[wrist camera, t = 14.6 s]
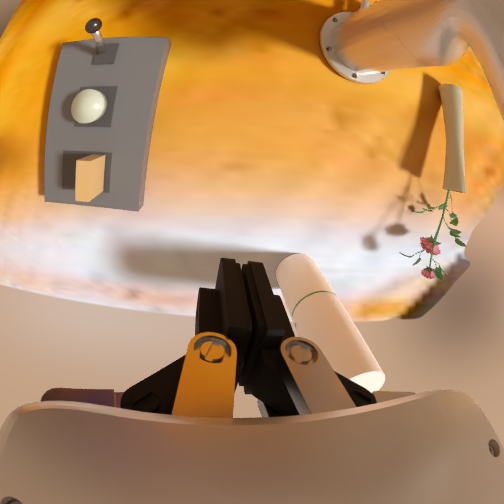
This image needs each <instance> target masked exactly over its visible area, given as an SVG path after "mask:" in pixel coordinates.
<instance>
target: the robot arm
mask: <svg viewBox="0 0 504 504" xmlns="http://www.w3.org/2000/svg"><path fill="white" fill-rule="evenodd" d="M320 46H321V50H322V52H323V55H324V57H325V58H326V60H327V62H328V63H329V64H330V65H331V67H332V68H333V69H334V70H335V71H336V72H337V73H338V74H340V75H341V76H343V77H344V78H346V79H348V80H350V81H352V82H356V83H360V84H371V83H376V82H379V81H381V80H383V79H384V78H385V77H386V76H387V75H388V73H389V72H390V71H392V70H399V69H408V68H418V67H430V66H445V65H450V64H453V63H455V62H457V61H458V60H459V59H461V57H462V56H463V55H464V54H465V52H466V51H467V49H468V47H469V46H470V47H471V48H472V50H473V52H474V54H475V56H476V57H477V59H478V61H479V62H480V64H481V66H482V68H483V70H484V73H485V75H486V77H487V80H488V82H489V84H490V87H491V89H492V92H493V94H494V97H495V100H496V103H497V105H498V108H499V111H500V113H501V116H502V118H503V120H504V0H380V1H375V2H374V4H373V5H371V6H370V2H368V1H367V0H361V4H360V9H358V10H357V11H355V12H340V13H337V14H335V15H333V16H331V17H330V18H328V19H327V20H326V21H325V22H324V24H323V26H322V28H321V31H320ZM326 48H327V49H328V51H327V49H326ZM352 76H353V77H352ZM195 326H196V327H195V336H194V337H193V338H192V339H191V341H190V343H189V345H188V349H187V353H186V355H184V356H183V357H181V358H179V359H178V360H176V361H174V362H173V363H171V364H170V365H168V366H166V367H165V368H163V369H161V370H160V371H158V372H156V373H154V374H153V375H151V376H149V377H147V378H146V379H144V380H142V381H140V382H139V383H137V384H135V385H134V386H132V387H130V388H129V389H127V390H126V391H125V392H119V393H118V392H114V390H113V389H110V390H109V389H106V390H105V389H103V390H101V389H100V390H99V389H71V388H52V389H50V390H48V391H46V393H45V394H44V395H43V396H42V398H41V402H34V403H29V404H25V405H22V406H20V407H18V408H16V409H15V410H14V411H12V412H11V413H10V414H9V416H8V417H7V418H6V420H5V422H4V423H3V425H2V427H1V429H0V504H504V448H503V446H502V444H501V442H500V440H499V438H498V436H497V434H496V433H495V431H494V429H493V427H492V426H491V424H490V422H489V420H488V419H487V417H486V416H485V414H484V413H483V411H482V410H481V408H480V407H479V405H478V404H477V403H476V402H475V400H474V399H473V398H472V397H471V396H470V395H468V394H466V393H464V392H461V391H454V390H435V391H427V392H423V393H419V394H415V393H413V392H388V391H373V392H372V393H371V392H370V391H369V390H367V389H366V388H364V387H362V386H360V385H359V384H357V383H355V382H353V381H351V380H350V379H348V378H346V377H344V376H342V375H341V374H339V373H337V372H335V371H334V370H333V369H332V367H331V365H330V364H329V362H328V361H327V359H326V357H325V356H324V354H323V353H322V351H321V349H320V348H319V347H318V346H317V345H316V344H315V343H314V342H312V341H310V340H308V339H306V338H302V337H295V335H294V332H293V330H292V327H291V324H290V321H289V319H288V316H287V313H286V311H285V308H284V305H283V303H282V300H281V298H280V296H278V295H274V294H273V291H272V288H271V286H270V283H269V280H268V277H267V274H266V271H265V268H264V265H263V263H260V262H252V261H249V262H248V264H243V266H242V270H241V267H240V264H239V263H236V262H235V259H227V258H221V260H220V265H219V270H218V276H217V282H216V287H215V289H209V288H199V293H198V301H197V309H196V324H195ZM238 383H239V386H244V392H245V394H252V395H253V396H255V397H256V398H258V401H257V403H258V407H259V410H260V413H261V415H262V418H233V406H234V393H235V390H236V387H237V384H238Z"/></svg>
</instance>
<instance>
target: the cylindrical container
mask: <svg viewBox="0 0 504 504" xmlns="http://www.w3.org/2000/svg"><path fill="white" fill-rule="evenodd" d="M276 278H277V281H278V284H279V286H280V289H281V292H282V294H283V297H284V299H285V302H286V304H287V307H288V310H289V312H290V315H291V317H292V320H293V322H294V325H295V328H296V330H297V332H298V335H299V337H302V338H306V339H308V340H310V341H312V342H314V343H315V344H316V345H317V346H318V347H319V348H320V349H321V351H322V353H323V354H324V356H325V357H326V359H327V361H328V362H329V364H330V365H331V367H332V369H333V370H334V371H335V372H337V373H339V374H341V375H342V376H344V377H346V378H348V379H350V380H351V381H353V382H355V383H357V384H359V385H360V386H362V387H364V388H366V389H367V390H369V391H370V392H371V393H372V392H373V391H378V390H379V389H380V388H381V387H382V385H383V383H384V381H385V375H384V373H383V372H382V370H381V368H380V366H379V364H378V363H377V361H376V359H375V358H374V356H373V354H372V353H371V351H370V349H369V347H368V346H367V344H366V343H365V341H364V339H363V337H362V336H361V334H360V333H359V331H358V329H357V328H356V326H355V324H354V323H353V321H352V320H351V318H350V316H349V315H348V313H347V311H346V310H345V308H344V307H343V305H342V304H341V302H340V300H339V299H338V297H337V296H336V294H335V293H334V291H333V289H332V288H331V286H330V285H329V283H328V282H327V280H326V279H325V277H324V275H323V274H322V272H321V271H320V269H319V268H318V266H317V265H316V263H315V262H314V260H313V259H312V258H311V257H310V256H308V255H306V254H301V253H297V254H292V255H290V256H288V257H286V258H285V259H283V260H282V261H281V263H280V264H279V265H278V267H277V270H276Z"/></svg>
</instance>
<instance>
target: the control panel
mask: <svg viewBox="0 0 504 504" xmlns="http://www.w3.org/2000/svg"><path fill="white" fill-rule="evenodd" d="M103 40H104V43H105V46H106V48H107V50H106V52H104V53H100V52H99V50H98V48H97V45H96V43H95V40H94V39H90V40H81V41H74V42H67V43H63V45H62V49H61V52H60V56H59V60H58V64H57V68H56V73H55V78H54V82H53V88H52V93H51V99H50V106H49V113H48V121H47V131H46V143H45V163H44V195H45V202H55V203H66V204H76V205H85V206H95V207H104V208H113V209H122V210H130V211H139V210H140V208H141V207H142V206H143V201H144V189H145V179H146V170H147V162H148V155H149V147H150V141H151V134H152V128H153V122H154V116H155V111H156V106H157V101H158V96H159V91H160V86H161V82H162V78H163V73H164V69H165V65H166V61H167V57H168V54H169V50H170V46H171V42H170V40H169V38H164V37H116V38H103ZM86 89H93V90H98V91H101V92H102V93H103V94H104V95H105V96H106V99H107V108H106V111H105V113H104V115H103V116H102V117H101V118H100V119H99V120H97V121H95V122H92V123H79V122H77V121H76V120H75V119H74V118H73V116H72V113H71V106H72V102H73V100H74V98H75V97H76V96H77V94H79V93H80V92H81V91H83V90H86ZM92 154H100V155H106V156H105V168H104V183H103V191H102V192H101V193H100V194H99V195H97V196H96V197H95V198H93V199H92V200H91V201H90V202H83V201H75V183H76V160H79V159H81V158H84V157H86V156H89V155H92Z"/></svg>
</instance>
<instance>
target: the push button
mask: <svg viewBox="0 0 504 504" xmlns="http://www.w3.org/2000/svg"><path fill="white" fill-rule="evenodd" d="M106 108H107V99H106V96H105V95H104V94H103V93H102V92H101V91H98V90H93V89H86V90H83V91H81V92H80V93H79V94H77V96H76V97H75V98H74V100H73V102H72V106H71V113H72V116H73V118H74V119H75V120H76V121H77V122H79V123H92V122H95V121H97V120H99V119H100V118H101V117H102V116H103V115H104V113H105V111H106Z"/></svg>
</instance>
